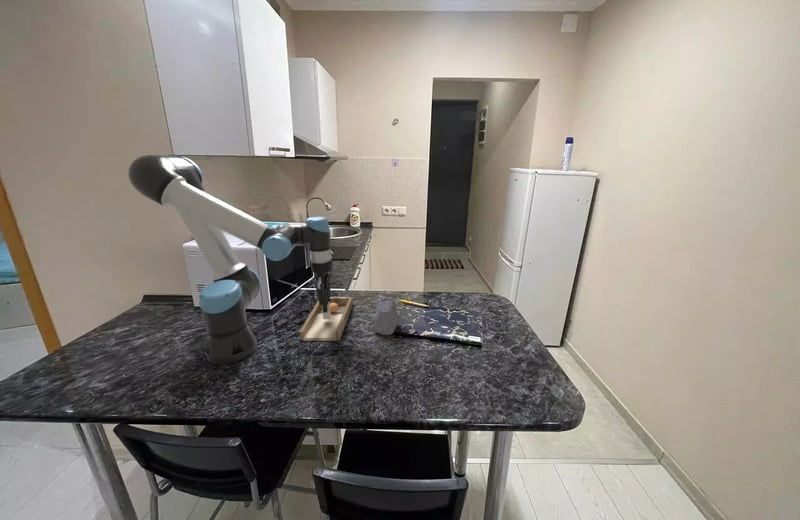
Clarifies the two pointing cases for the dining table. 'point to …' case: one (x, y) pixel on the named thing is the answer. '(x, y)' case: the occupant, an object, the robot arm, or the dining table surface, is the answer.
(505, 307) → the dining table surface
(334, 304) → the ball
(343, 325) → the tray
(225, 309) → the robot arm
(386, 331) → the stone
